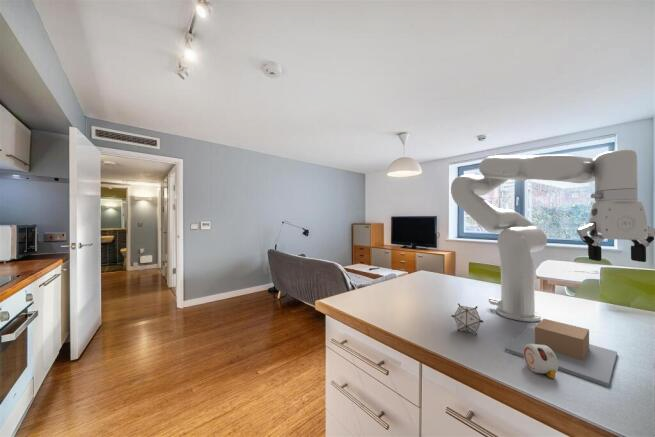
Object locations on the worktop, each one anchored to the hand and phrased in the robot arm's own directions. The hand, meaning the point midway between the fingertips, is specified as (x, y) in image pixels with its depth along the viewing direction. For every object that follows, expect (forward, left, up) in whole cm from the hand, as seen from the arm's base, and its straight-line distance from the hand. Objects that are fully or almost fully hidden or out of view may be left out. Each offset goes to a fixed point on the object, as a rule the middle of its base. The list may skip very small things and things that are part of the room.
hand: (616, 260), depth 67 cm
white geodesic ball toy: (-29, -22, -23) cm, 43 cm away
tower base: (-9, -16, -23) cm, 30 cm away
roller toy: (-10, -30, -23) cm, 40 cm away
